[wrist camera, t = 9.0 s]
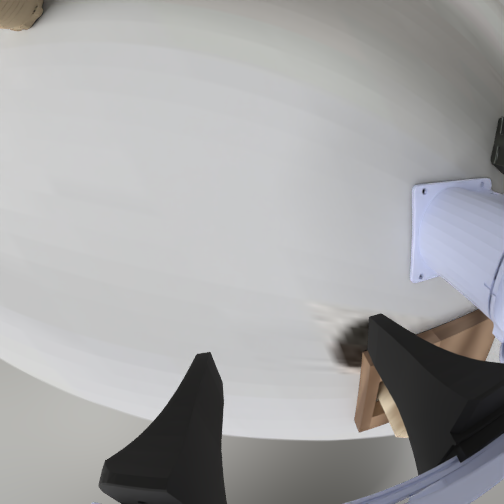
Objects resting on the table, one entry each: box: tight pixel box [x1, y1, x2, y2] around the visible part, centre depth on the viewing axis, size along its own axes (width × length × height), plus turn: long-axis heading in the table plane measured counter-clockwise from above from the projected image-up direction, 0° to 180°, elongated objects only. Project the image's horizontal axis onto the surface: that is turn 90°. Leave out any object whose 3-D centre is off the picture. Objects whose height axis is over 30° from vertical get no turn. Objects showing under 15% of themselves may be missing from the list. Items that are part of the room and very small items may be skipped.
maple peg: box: [377, 381, 409, 438], centre depth 22 cm, size 4×4×7 cm
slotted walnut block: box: [354, 309, 495, 432], centre depth 25 cm, size 18×12×2 cm, turn 100°
